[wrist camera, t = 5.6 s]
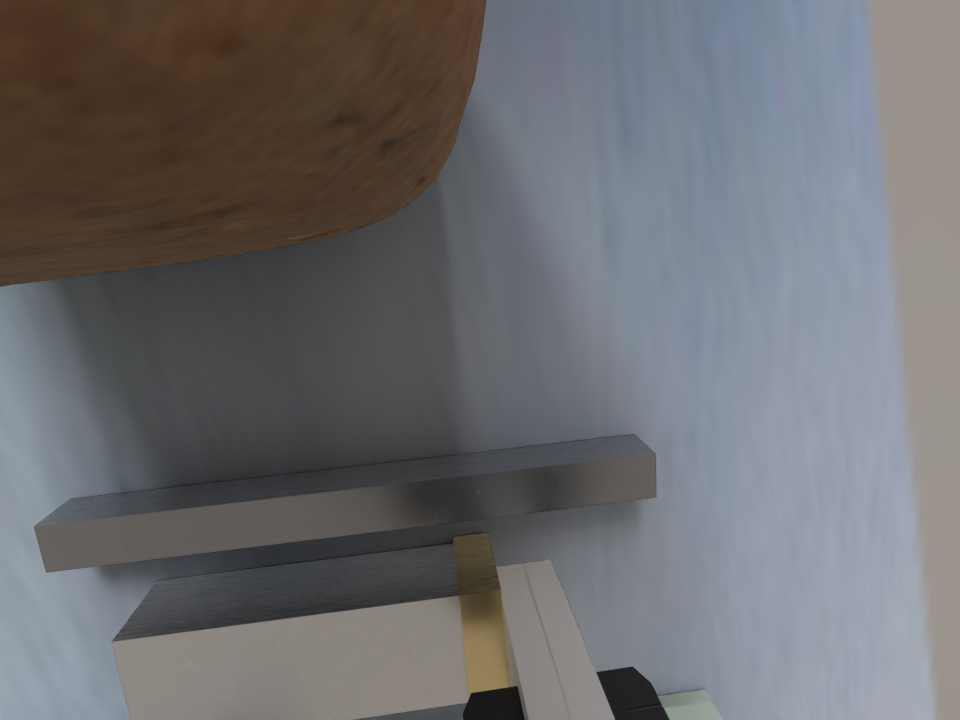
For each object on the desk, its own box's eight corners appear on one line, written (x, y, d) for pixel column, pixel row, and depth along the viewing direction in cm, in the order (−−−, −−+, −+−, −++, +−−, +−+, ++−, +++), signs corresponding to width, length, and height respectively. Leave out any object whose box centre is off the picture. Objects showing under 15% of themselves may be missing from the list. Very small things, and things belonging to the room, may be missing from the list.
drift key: (156, 573, 16) (102, 642, 13) (487, 532, 17) (501, 590, 14) (180, 682, 17) (133, 769, 14) (497, 638, 18) (511, 712, 15)
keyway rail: (70, 498, 15) (33, 526, 14) (635, 434, 17) (655, 453, 15) (80, 541, 16) (46, 572, 14) (636, 474, 17) (656, 497, 15)
